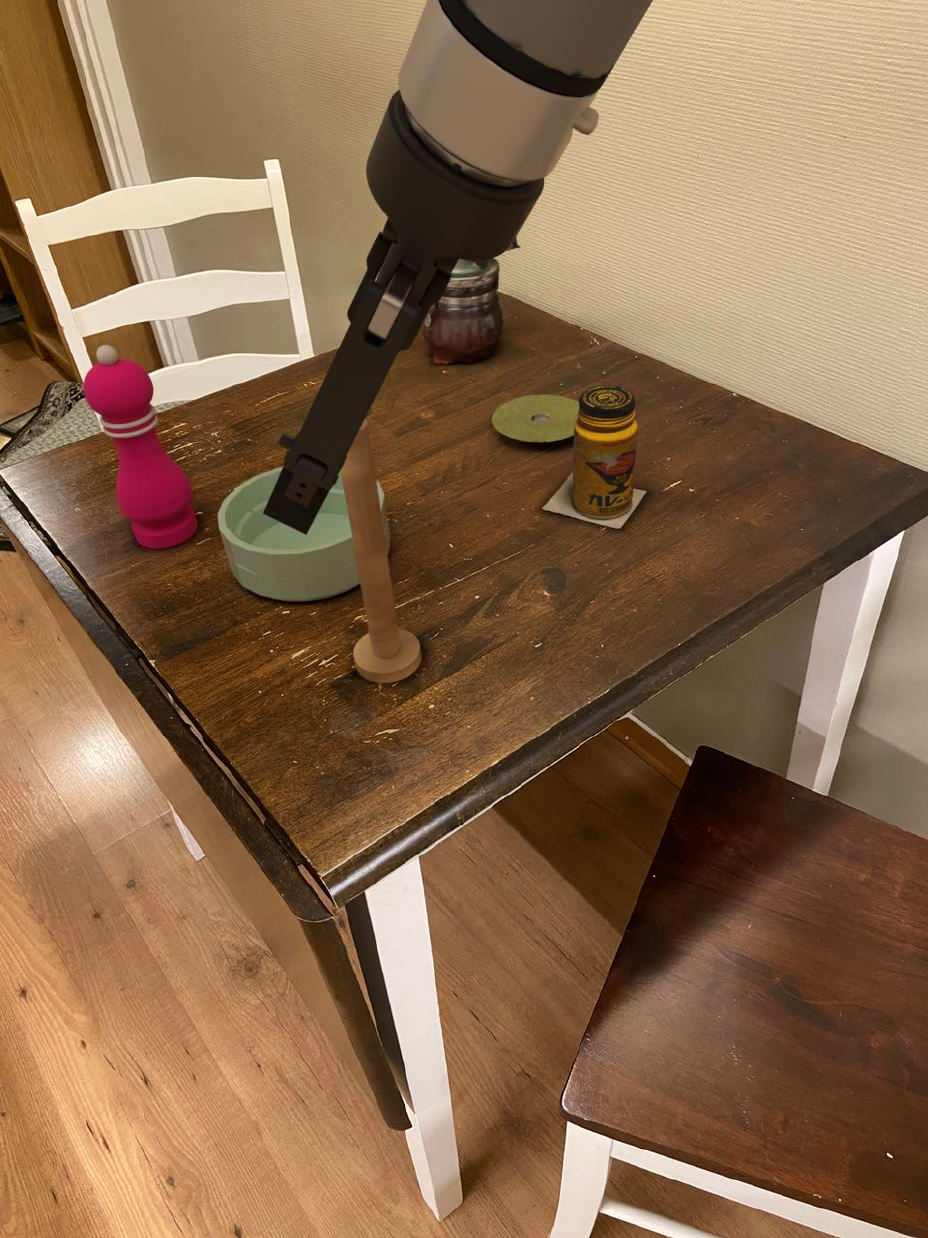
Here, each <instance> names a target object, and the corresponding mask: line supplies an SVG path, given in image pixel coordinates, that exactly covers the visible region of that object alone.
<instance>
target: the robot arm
mask: <svg viewBox="0 0 928 1238" xmlns="http://www.w3.org/2000/svg"><path fill="white" fill-rule="evenodd" d="M653 2H654V0H426V3H425V5H424V8H423V10H422V12H421V15H420V18H419V21H418V24H417V25H416V28H415V31H414V33H413V36H412V39H411V40H410V44H409V46H408V49H407V51H406V54H405V57H404V59H403V61H402V64H401V67H400V70H399V73H398V82H397V86H398V90H397V91H395V93H393V94H392V96H391V98H390V100H389V102H388V105H387V107H386V109H385V113H384V115H383V118H382V120H381V123H380V125H379V128H378V131H377V133H376V135H375V139H374V140H373V143H372V146H371V149H370V152H369V154H368V158H367V160H366V164H365V165H366V166H365V176H366V181H367V186H368V188H369V192H370V193H371V195H372V198H373V199H374V201H375V203H376V204H377V207H378V208H379V209H380V210H381V211H382V213H383V214H385V216H386V218H387V219H386V221H385V223H384V226H383V229H382V231H380V230H379V232H378V234H377V236H376V238H375V240H374V242H373V244H372V245H371V248H370V250H369V252H368V254H367V257H366V271H365V273H364V275H363V277H362V280H361V282H360V284H359V286H358V288H357V289H356V292H355V294H354V296H353V298H352V300H351V302H350V305H349V307H348V308H347V312H346V315H347V320H348V321H349V323H350V324H349V326H348V328H347V330H346V332H345V334H344V336H343V338H342V340H341V343H340V345H339V347H338V349H337V351H336V352H335V355H334V358H333V360H332V362H331V364H330V366H329V368H328V371H327V372H326V375H325V377H324V379H323V381H322V383H321V385H320V387H319V390H318V391H317V394H316V396H315V398H314V400H313V402H312V404H311V407H310V408H309V411H308V413H307V415H306V418H305V420H304V422H303V424H302V426H301V427H300V430H299V431H298V433H297V434H296V435H295V437H293V436H292V435H290V434H288V433H286V432H284V433H282V434H281V436H280V438H279V440H278V444H277V445H278V446H280V447H282V448H284V449H286V453H285V455H284V457H283V460H284V461H283V463H282V467H283V468H282V470H281V473H280V475H279V477H278V480H277V482H276V484H275V486H274V489H273V491H272V493H271V496H270V498H269V500H268V502H267V505H266V507H265V509H264V512H263V514H265V515H267V516H269V517H271V518H273V519H275V520H277V521H279V522H281V523H283V524H285V525H287V526H289V527H291V528H293V529H295V530H297V531H299V532H301V533H303V534H305V535H307V533H308V531H309V529H310V527H311V526H312V524H313V522H314V520H315V518H316V516H317V514H318V512H319V510H320V508H321V506H322V504H323V503H324V501H325V499H326V497H327V495H328V493H329V491H330V489H331V488H332V486H333V485H334V486H335V484H336V482H337V480H338V478H339V476H338V474H339V472H340V470H341V469H342V467H343V465H344V463H345V461H346V458H347V456H346V455H347V453H348V451H349V449H350V447H351V445H352V443H353V441H354V439H355V437H356V435H357V433H358V432H359V430H360V428H361V426H362V424H363V422H364V420H365V419H366V418H367V415H368V414H369V411H370V409H372V408H371V407H372V406H373V404H374V402H375V400H376V398H377V396H378V394H379V391H380V390H381V388H382V386H383V383H384V382H385V380H386V378H387V376H388V374H389V372H390V370H391V368H392V367H393V364H394V362H395V360H396V358H397V356H398V354H399V352H405V351H407V350H409V349H410V348H411V347H412V345H413V343H414V342H415V339H416V338H417V335H418V334H419V331H420V330H421V329H422V324H423V322H424V320H425V318H426V316H427V314H428V312H429V310H430V308H431V306H433V305H435V304H437V303H438V302H439V300H440V299H441V297H442V295H443V293H444V291H445V289H446V287H447V285H448V283H449V281H450V279H451V277H452V275H453V274H452V273H451V272H452V271H453V269H454V267H455V266H456V264H457V262H458V260H459V259H463V260H467V261H483V260H489V259H492V258H494V259H496V258H497V257H500V256H501V255H502V254H504V253H506V252H507V251H506V250H507V249H508V248H509V247H510V246H511V245H512V243H513V242H514V240H515V238H516V236H518V235H519V233H520V231H521V230H522V228H523V226H524V225H525V222H526V221H527V219H528V217H529V215H530V214H531V213H532V210H533V209H534V207H535V205H536V204H537V202H538V200H539V199H540V197H541V195H542V193H543V191H544V187H545V178H546V177H548V176H549V175H550V174H552V172H553V171H554V170H555V169H556V167H557V165H558V163H559V161H560V160H561V158H562V156H563V154H564V153H565V151H566V149H567V147H568V146H569V144H570V142H571V140H572V138H573V134H574V133H573V132H574V130H575V131H577V132H578V133H580V134H582V135H585V136H589V135H592V134H593V133H594V132H595V130H596V128H597V126H598V125H599V118H600V114H599V112H598V111H597V110H596V109H594V108H593V107H591V105H592V104H593V102H594V101H595V99H596V97H597V95H598V92H599V90H601V89H602V87H603V86H604V84H605V83H606V81H607V79H608V77H609V75H610V74H611V72H612V71H613V69H614V67H615V65H616V64H617V62H618V60H619V58H620V57H621V55H622V53H623V52H624V50H625V48H626V47H627V46H628V43H629V41H630V40H631V38H632V37H633V35H634V33H635V31H636V30H637V28H638V26H639V25H640V23H641V22H642V19H643V18H644V17H645V15H646V13H647V12H648V10H649V8H650V7H651V5H652V3H653Z"/></svg>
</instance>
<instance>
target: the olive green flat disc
mask: <svg viewBox="0 0 928 1238" xmlns="http://www.w3.org/2000/svg"><path fill="white" fill-rule="evenodd" d="M578 402H579V400H578V401H577V400H575V399H572V398H569V397H567V396H563V395H558V394H557V395H556V394H546V393H545V394H544V393H543V394H531V395H526V396H519V397H516V398H514V399H511V400H509V401H506V402H505V403H503V404H502V405H500V406H498V407H497V409H495V411H494V412H493V413H492V416H491V424H492V425H493V427H494V429H495V430H496V431H497V432H498V433H500V434H501V435H503V436H505V437H508V438H510V439H514V440H517V441H522V442H524V443H525V442H527V443H529V442H530V443H545V442H546V443H550V442H551V443H554V442H556V441H562V440H564V439H569V438H571V437H574V425H575V422H576V420H577V419H578V410H579V403H578Z"/></svg>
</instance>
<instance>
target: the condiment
mask: <svg viewBox="0 0 928 1238" xmlns="http://www.w3.org/2000/svg"><path fill="white" fill-rule="evenodd" d="M578 398H579V399H578V403H579V410H578V419H577V420H576V422H575V425H574V435H573V461H572V463H573V464H572V466H573V467H572V472H571V473H570V474H569V475H568V477H567V479H566V480H565V481H564V482H563V483H562V485H561V486H560V488H559V489H558V490H557V491H556V492H555V493H554V495H552V496H551V498H550V499H549V500H548V502H547V503H546V504H544V506H543V507H542V508H541V510H543V511H549V512H552V513H556V514H561V515H563V516H569V517H572V518H575V519H578V520H581V521H584V522H588V523H592V524H597V525H600V526H606V527H609V528H613V529H622V527H623V526H624V524H625V523H626V522H627V520H628V519H629V518H630V517H631V515H632V514H633V512H634V511H635V510H636V508H637V506H638V505H639V504H640V502H641V501H642V499H643V497H644V496H645V495H646V494H647V490H643V489H637V488H634V484H635V472H636V460H637V459H636V458H637V454H636V453H637V445H638V435H639V434H638V433H639V426H638V422H637V420H636V409H635V408H636V398H635V396H634V394H633V393H632V392H631V391H630V390H629V389H627V388H624V387H622V386H618V385H613V384H611V385H610V384H605V385H598V386H593V387H590V388H588V389H586V390H585V391H583V392H582V394H580V395H579V397H578Z"/></svg>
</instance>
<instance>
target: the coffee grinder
mask: <svg viewBox="0 0 928 1238" xmlns="http://www.w3.org/2000/svg"><path fill="white" fill-rule="evenodd" d="M517 236H518V235H517ZM517 236H516V238H515V240H514V242H513V243H512V245H511V246H510V247H509V248H508V249H507V250H506V251H505V252H509V251H513V250H515V249H521V246H520V244H518V241H517V238H518V237H517ZM500 271H501V270H500V263H499V261H498V260H497V259H496V258H492V259H489V260H483V261H467V260H463V259H459V260H458V262H457V264H456V266H455V267H454V269H453V271H452V272H451V273H452V274H453V275H452V277H451V279H450V281H449V283H448V285H447V287H446V289H445V291H444V293H443V295H442V297H441V299H440V300H439V302H438V303H437V304H435V305H433V306H431V308H430V310H429V312H428V314H427V316H426V318H425V320H424V322H423V324H422V326H421V333H422V337H423V339H424V340H425V342H426V343H427V344H428V345H429V347H430V348H431V351H432V355H433V362H434V364H437V365H440V364H443V365H449V364H452V363H455V362H463V363H470V364H474V363H476V362H477V361H478V360H482V359H486V358H488V357H489V356H494V354H495V352H496V351H497V349H498V345H499V343H500V339H501V336H502V335H503V325H504V315H503V311H502V308H501V306H500V303H499V300H500V298H499V295H498V294H497V291H498V290H499V285H500V284H499V283H500Z"/></svg>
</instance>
